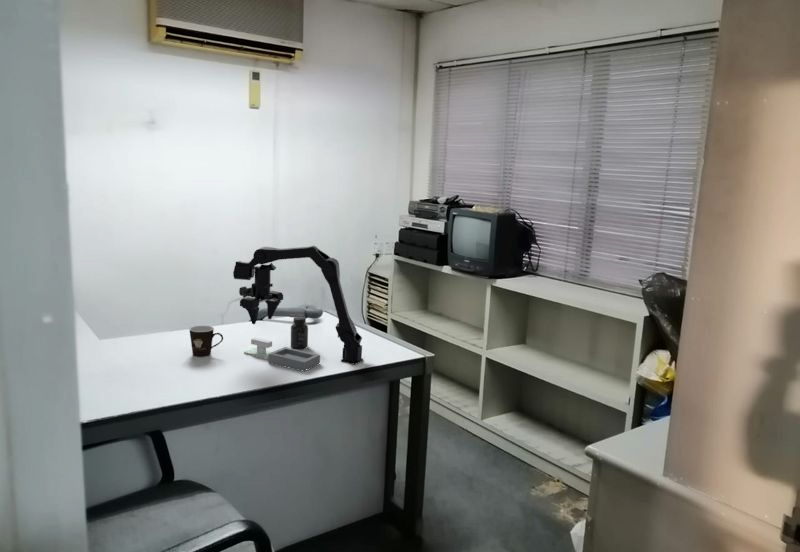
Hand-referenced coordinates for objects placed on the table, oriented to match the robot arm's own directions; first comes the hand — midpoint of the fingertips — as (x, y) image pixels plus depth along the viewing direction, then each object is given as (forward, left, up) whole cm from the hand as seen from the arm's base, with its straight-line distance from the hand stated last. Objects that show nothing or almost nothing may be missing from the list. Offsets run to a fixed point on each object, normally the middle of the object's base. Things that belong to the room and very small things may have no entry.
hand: (261, 321), depth 228 cm
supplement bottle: (-6, -16, -13) cm, 22 cm away
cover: (0, 0, -13) cm, 13 cm away
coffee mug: (+16, +13, -13) cm, 24 cm away
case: (-16, +1, -13) cm, 21 cm away
